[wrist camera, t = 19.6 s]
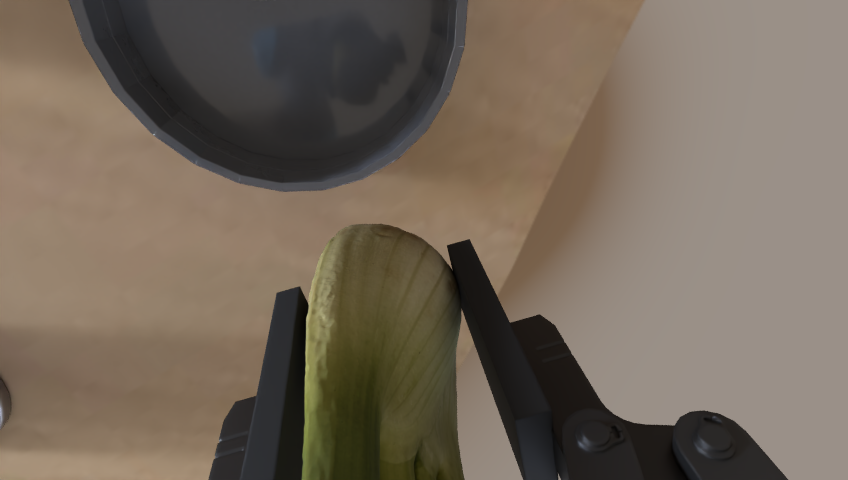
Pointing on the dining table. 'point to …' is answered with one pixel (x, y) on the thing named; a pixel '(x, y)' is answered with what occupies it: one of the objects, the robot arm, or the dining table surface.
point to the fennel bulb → (381, 360)
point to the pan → (280, 80)
